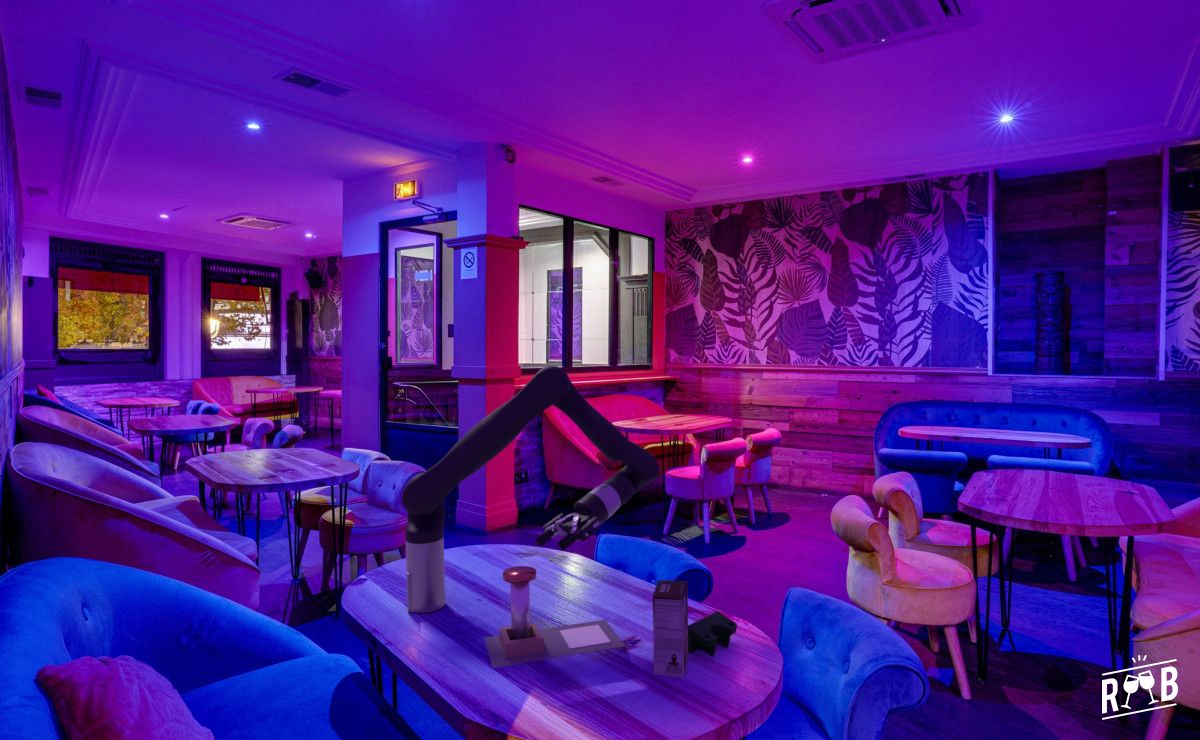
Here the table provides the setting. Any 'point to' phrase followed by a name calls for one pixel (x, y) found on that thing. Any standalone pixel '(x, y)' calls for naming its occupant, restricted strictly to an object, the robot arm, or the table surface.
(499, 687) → the table surface
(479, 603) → the table surface
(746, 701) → the table surface
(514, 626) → the mushroom shaped post
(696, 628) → the clamp
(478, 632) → the table surface
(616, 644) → the board
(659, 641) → the coffee box
